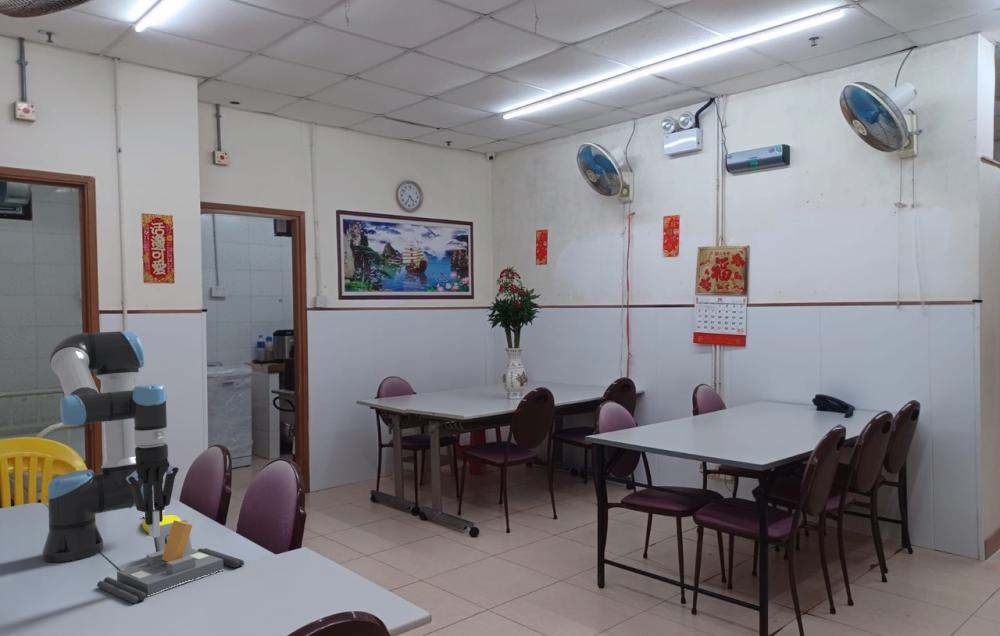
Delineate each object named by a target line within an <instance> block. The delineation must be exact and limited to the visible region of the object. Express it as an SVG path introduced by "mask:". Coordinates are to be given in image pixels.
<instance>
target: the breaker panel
mask: <svg viewBox="0 0 1000 636" xmlns="http://www.w3.org/2000/svg"><path fill="white" fill-rule="evenodd" d="M163 553H164V550H162V551H158V552H156V551H155V552H153V553H149V554H146V556H145V557H146V562H144V563H141V564H137V565H134V566H131V567H127V568H124V569H121V570H119V571H116V580H117V581H119V582H121V583H124V584H126V585H128V586H131V587H133V588H135V589H137V590H140V591H142V592H144V593H146V595H151V594H153V593H156V592H159V591H161V590H163V589H166V588H169V587H171V586H174V585H177V584H179V583H182V582H185V581H188V580H192V579H196V578H198V577H201V576H204V575H208V574H211V573H214V572H216V571H219V570H222V569H224V564H223V559H221V558H218V557H214V556H211V555H208V554H205V553H202V552H199V551H197V549H193V548H192V549H189V550H186V551H184V554H183V557H182V558H179V559H176V560H173V561H170V562H167V563H166V562H163V561H162V556H163Z"/></svg>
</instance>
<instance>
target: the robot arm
mask: <svg viewBox="0 0 1000 636" xmlns="http://www.w3.org/2000/svg"><path fill="white" fill-rule="evenodd" d="M49 364H50V368H51V370H52V372H53V373H54V374H55V375H56V376H58V379H59V382H60V385H61V388H62V391H63V393H64V396H62V397H61V398H60V402H59V414H60V421H61V423H62V424H63V426H81V425H88V424H95V423H103V422H104V434H105V453H106V455H105V456H106V460H105V462H104V463H103V464H102V465H101V466H100V468H101V469H100V470H101V472H99V473H95V472H94V470H93V469H84V470H83V469H80V470H76V471H75V470H74V471H70V472H67V473H65V474H61V475H59V476H57V477H54V478H53V479H51V480H50V481H49V482H48V485H47V495H46V499H47V501H48V503H47V505H48V532H47V533H48V534H47V537H46V539H45V542H44V545H43V549H42V559H43V561H44V560H45V561H44V562H47V561H49V562H48V563H64V561H65V562H71V560H72V561H76V560H81V559H85V558H88V557H91V556H95V555H96V553H97V554H98V552H99V553H100V552H102V551H103V550H104V540H103V539H104V538H103V537H102V535H101V533H100V530H99V528H98V525H97V521H96V520H97V519H96V515H97V514H101V513H102V514H103V513H107V512H112V511H118V510H123V509H132V508H133V507H134V508H136V510H137V511H138V512H142V513H144V514H145V518H144V520H145V523H146V524H147V525H149V533H148V537H151V538H153V539H154V538H155V537H159V536H160V522H162V520H163V516H164V515H162V511H163V510H166V509H165V507H168V506H170V504H171V501H172V494H173V490H174V485H175V484H174V482H175V480H176V477H177V474H178V473H179V467H175V466H172V465H170V461H169V459H168V458H169V449H168V448H169V446H168V445H169V444H167V442H168V424H167V423H168V421H167V420H168V419H167V417H168V416H167V398H168V396H167V393H166V387H165V385H164V384H162V383H146V384H138V385H136V386H135V378H136V377H137V376H138V375H139V374H140V370H139V369H141V368H144V365H145V353H144V348H143V344H142V341H141V339H140V337H139V335H138V334H137V333H136V332H134V331H121V330H119V331H105V332H103V331H102V332H81V333H80V332H79V333H76V334H72V335H69V336H68V337H67V338H64V339H63V340H62V341H59V343H58V344H57V345H56V346H55V347H54V348H53V349H52V352H51V354H50V357H49ZM91 372H95V377H96V378H97V379H99V380H100V381H101V383H102V392H100V391H99V390H98V387H97V385H96V382H95V379H94V377H93V375H92V373H91ZM165 474H166V475H165ZM164 476H165V478H164ZM163 484H164V485H163ZM102 549H103V550H102ZM101 550H102V551H101Z"/></svg>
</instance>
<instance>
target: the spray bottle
mask: <svg viewBox="0 0 1000 636" xmlns="http://www.w3.org/2000/svg"><path fill="white" fill-rule="evenodd" d="M165 511H166V509H164V510H162V512H165ZM162 514H165V513H162ZM142 515H143V516H144V515H145V513H142ZM142 515H141V516H142ZM174 520H175V521H181V520H182V519H181V518H180V517H179V516H177V515H176V514H170V515H168V514H166V515H163V520H162V522H160V526H162V525H166V524H170V523H173V522H174ZM141 524H142V528H143V530H144V531H145V530H146V532H147V533H148V532H149V525H147V524H146V523H145V519H144V520H143V521H142V522H141Z"/></svg>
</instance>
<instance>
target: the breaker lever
mask: <svg viewBox="0 0 1000 636" xmlns="http://www.w3.org/2000/svg"><path fill="white" fill-rule="evenodd" d="M192 528H193V524H191V523H185V522H181V521H175V520H174V522H173V525H172V528H171V531H170V534H169V537H168V540H167V543H166V547H165V550H164V553H163V556H162V561H163V562H166V563H167V562H170V561H173V560H176V559H179V558H182V557H183V554H184V551H185V547H186V544H187V541H188V538H189V535H190V534H191V531H192ZM190 536H191V535H190Z"/></svg>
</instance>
